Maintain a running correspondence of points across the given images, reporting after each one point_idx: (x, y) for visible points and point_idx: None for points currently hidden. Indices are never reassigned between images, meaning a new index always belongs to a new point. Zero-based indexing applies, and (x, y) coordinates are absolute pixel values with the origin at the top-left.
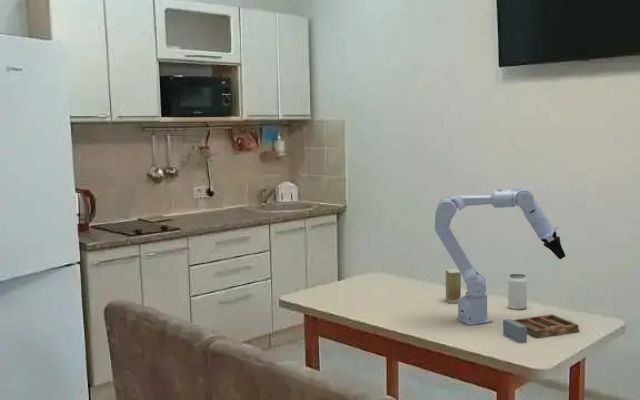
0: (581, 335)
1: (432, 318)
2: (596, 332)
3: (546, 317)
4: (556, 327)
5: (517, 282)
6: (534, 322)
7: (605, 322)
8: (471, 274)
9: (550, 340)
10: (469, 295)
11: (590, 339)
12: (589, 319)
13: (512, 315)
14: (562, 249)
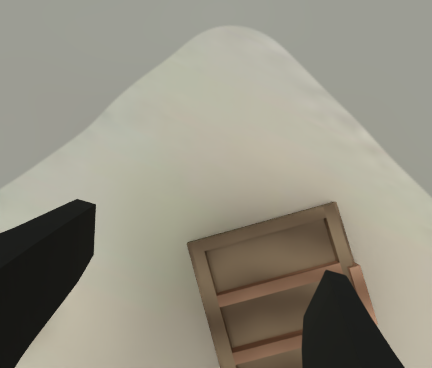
0: (370, 210)
1: None
2: (344, 147)
3: (210, 273)
4: (369, 301)
5: None
6: (283, 351)
7: (238, 69)
8: None
9: (411, 336)
10: None
11: (416, 199)
12: (196, 106)
13: (105, 358)
14: (388, 347)
